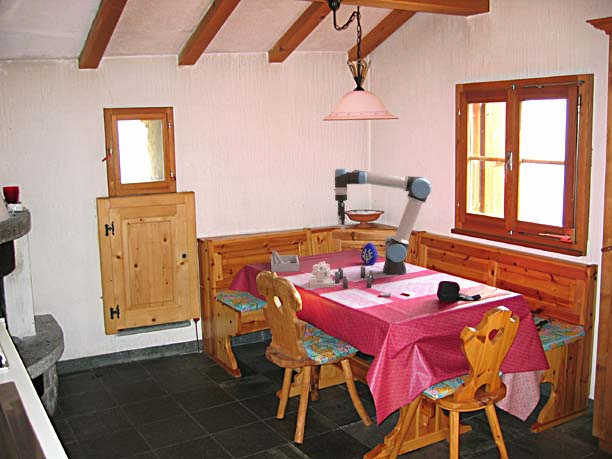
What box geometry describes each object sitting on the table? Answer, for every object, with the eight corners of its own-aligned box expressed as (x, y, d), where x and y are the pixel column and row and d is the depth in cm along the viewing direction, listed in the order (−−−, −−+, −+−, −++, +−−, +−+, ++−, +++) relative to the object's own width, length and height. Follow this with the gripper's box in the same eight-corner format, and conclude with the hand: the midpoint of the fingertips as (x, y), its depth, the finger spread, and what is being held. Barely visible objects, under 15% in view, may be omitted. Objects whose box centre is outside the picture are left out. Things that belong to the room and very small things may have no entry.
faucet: (292, 264, 461) (279, 243, 472) (277, 270, 458) (264, 249, 469) (292, 276, 472) (280, 256, 483) (278, 282, 469) (266, 261, 480)
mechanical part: (324, 277, 426) (324, 258, 425) (333, 281, 416) (333, 262, 414) (308, 279, 422) (307, 260, 420) (317, 284, 411) (316, 264, 409)
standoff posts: (370, 276, 437) (370, 266, 436) (377, 287, 409) (377, 276, 408) (332, 278, 436) (332, 267, 434) (337, 289, 408) (337, 277, 407)
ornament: (359, 264, 473) (359, 243, 470) (365, 262, 480) (365, 241, 478) (374, 266, 467) (374, 244, 464) (380, 263, 475) (380, 242, 472)
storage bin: (297, 261, 487) (297, 254, 486) (299, 271, 458) (299, 263, 457) (271, 262, 486) (271, 255, 485) (271, 272, 457) (271, 264, 456)
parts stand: (331, 281, 427) (331, 277, 426) (333, 287, 413) (333, 283, 412) (308, 282, 426) (308, 278, 426) (310, 287, 412) (310, 283, 412)
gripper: (333, 192, 439) (333, 225, 443) (337, 196, 415) (337, 231, 418) (344, 191, 440) (345, 224, 443) (349, 196, 415) (349, 231, 419)
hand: (341, 228), depth 431 cm, fingers open, 13 cm apart
